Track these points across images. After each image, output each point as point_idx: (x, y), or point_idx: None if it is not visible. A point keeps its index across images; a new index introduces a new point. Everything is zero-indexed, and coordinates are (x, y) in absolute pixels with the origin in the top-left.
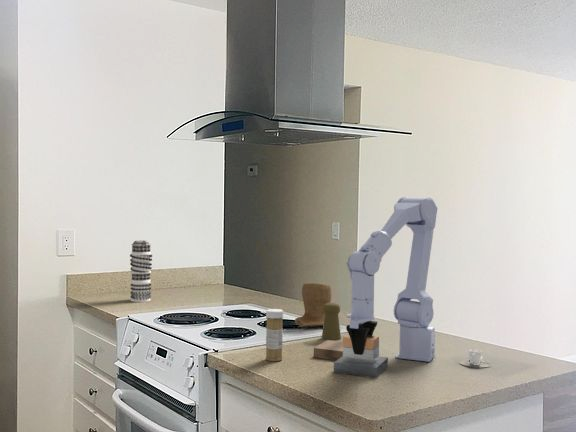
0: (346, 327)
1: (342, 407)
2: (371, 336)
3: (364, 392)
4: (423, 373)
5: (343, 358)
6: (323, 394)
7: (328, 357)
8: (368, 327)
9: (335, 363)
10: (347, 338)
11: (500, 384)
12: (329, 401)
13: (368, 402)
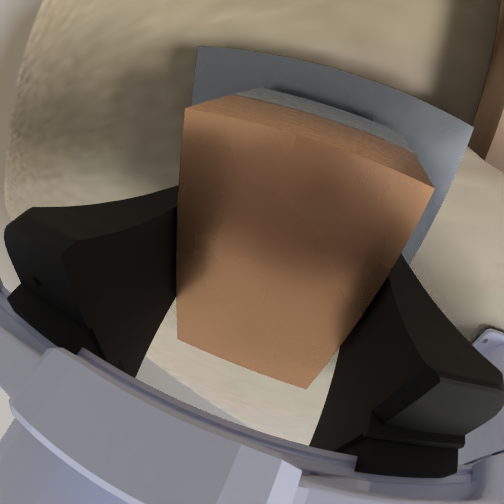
0: (14, 220)
1: (6, 161)
2: (292, 357)
3: (71, 194)
4: None
5: (314, 88)
6: (27, 102)
7: (501, 24)
8: (334, 410)
9: (199, 55)
10: (185, 158)
11: (251, 421)
12: (11, 130)
13: (38, 204)
